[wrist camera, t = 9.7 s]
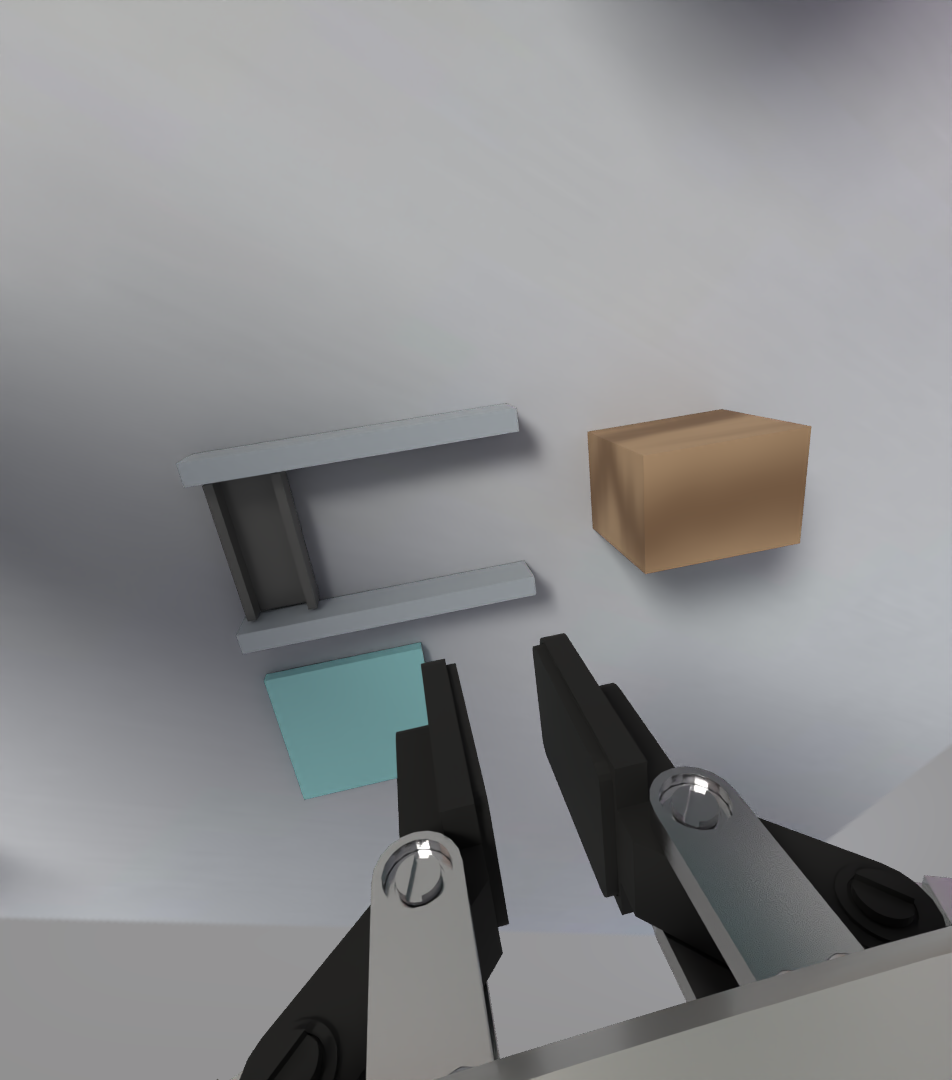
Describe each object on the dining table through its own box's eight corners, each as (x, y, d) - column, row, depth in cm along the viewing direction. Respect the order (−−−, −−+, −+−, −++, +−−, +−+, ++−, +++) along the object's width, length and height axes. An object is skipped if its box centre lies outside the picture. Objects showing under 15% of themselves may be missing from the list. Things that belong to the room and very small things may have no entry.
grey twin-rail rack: (192, 454, 23) (175, 463, 21) (506, 403, 24) (516, 408, 23) (252, 632, 26) (242, 654, 24) (525, 578, 28) (536, 594, 26)
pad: (266, 674, 27) (263, 681, 27) (420, 642, 28) (421, 648, 27) (305, 791, 30) (304, 799, 29) (444, 759, 31) (445, 766, 30)
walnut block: (586, 431, 26) (643, 455, 20) (720, 409, 26) (811, 426, 21) (592, 527, 27) (645, 574, 22) (717, 503, 28) (799, 543, 23)
